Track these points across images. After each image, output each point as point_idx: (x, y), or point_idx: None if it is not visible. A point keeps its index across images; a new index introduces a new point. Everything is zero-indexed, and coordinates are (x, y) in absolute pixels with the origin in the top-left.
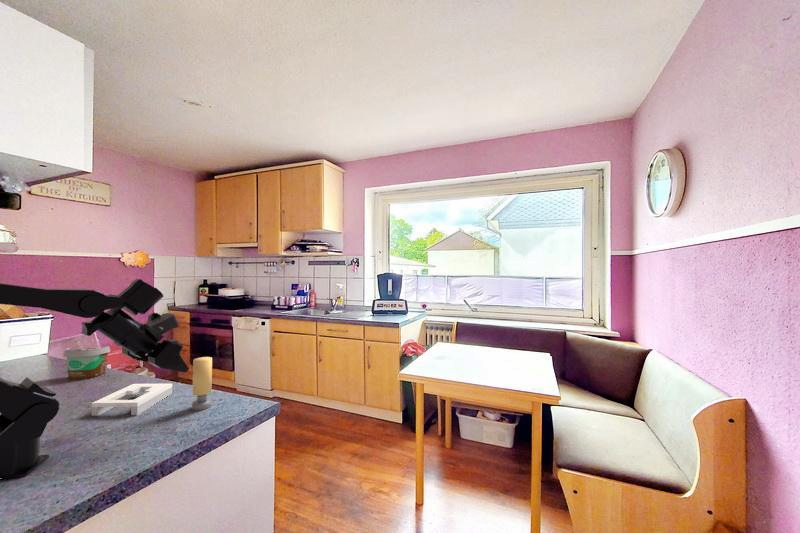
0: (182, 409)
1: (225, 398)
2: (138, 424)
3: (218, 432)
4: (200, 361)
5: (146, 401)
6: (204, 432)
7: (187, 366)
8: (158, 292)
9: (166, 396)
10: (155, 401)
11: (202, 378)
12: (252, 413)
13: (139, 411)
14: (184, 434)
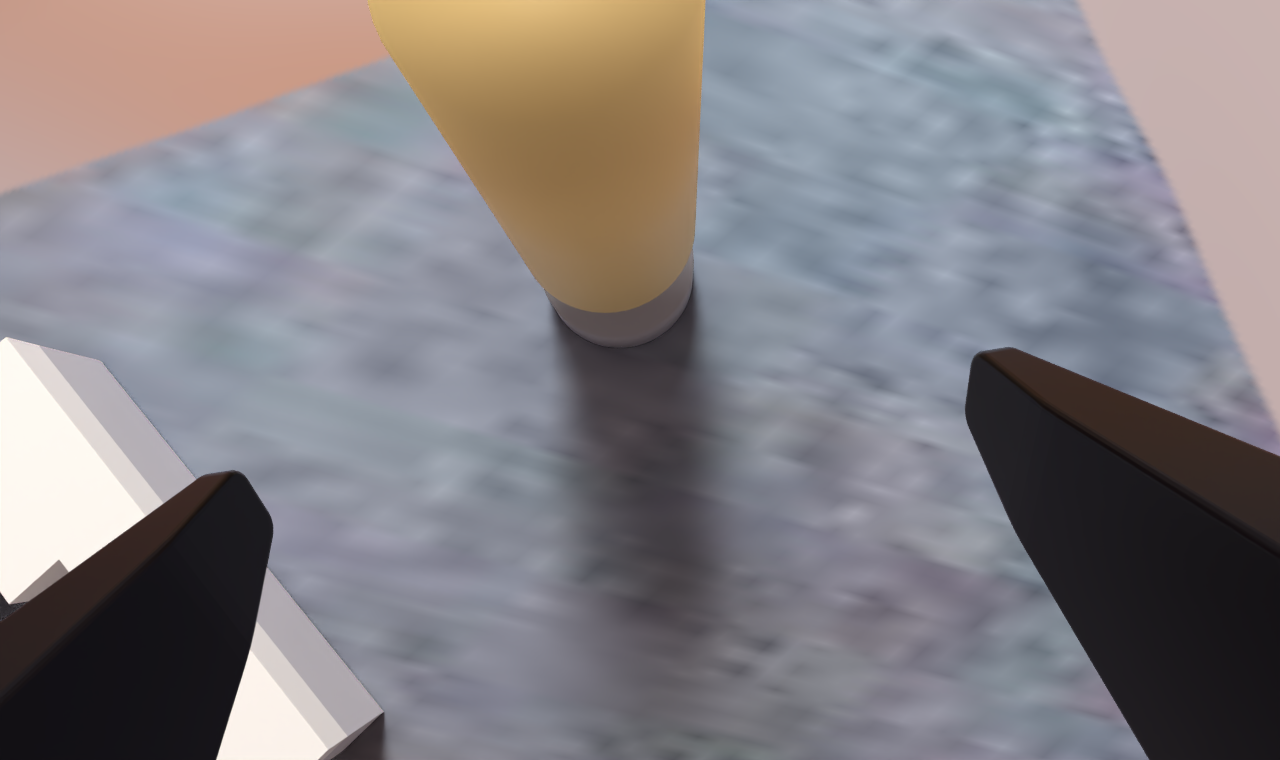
0: (546, 403)
1: None
2: (604, 754)
3: (1241, 352)
4: (680, 44)
5: (272, 639)
6: None
7: (1074, 373)
8: None
9: (140, 419)
10: None
11: (691, 172)
12: (1063, 45)
13: (356, 696)
14: None
